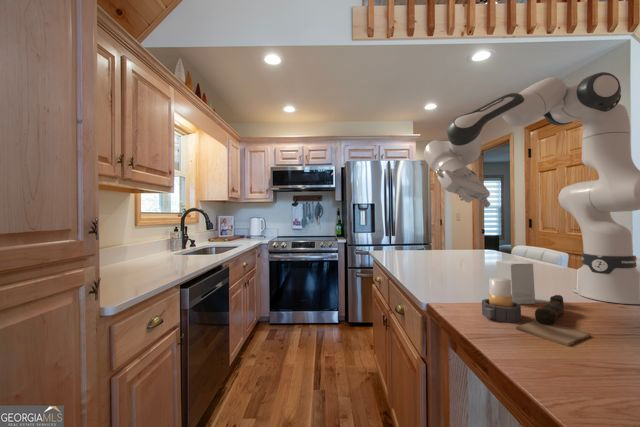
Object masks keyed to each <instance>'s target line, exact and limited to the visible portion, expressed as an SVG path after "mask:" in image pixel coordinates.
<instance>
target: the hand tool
mask: <svg viewBox="0 0 640 427" xmlns="http://www.w3.org/2000/svg"><path fill="white" fill-rule="evenodd" d="M564 307H565V306H564V297H563V296H562V295H560V294H558V295H557V294H554V295H552V296H550V299H549V301H548V302H547V303H546V304H544V306H542V307H541V308H540V307H537V308H536V309H535V311H534V316H535V317H534V320H537V321H538V322H539V323H541V324H546V325H553V324H556V320H557V318H559V316H560V315H563V314H564Z"/></svg>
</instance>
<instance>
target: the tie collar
mask: <svg viewBox="0 0 640 427" xmlns="http://www.w3.org/2000/svg"><path fill="white" fill-rule="evenodd" d="M521 308H522V307H521V304H518V303H516V302H513V307H498V306H493V305H489V298H484V299H482V300H481V311H482V312H481V313H482V314H481V315H482V316H484V317H485V318H487V319H490V320H493V321H498V322H503V323H504V322H505V323H517V322H520V321H522V309H521Z"/></svg>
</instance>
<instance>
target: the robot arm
mask: <svg viewBox="0 0 640 427" xmlns="http://www.w3.org/2000/svg"><path fill="white" fill-rule="evenodd" d="M621 92H622V86H621V83H620V80H619V78H618V77H616V76H615V75H614V74H612V73H610V72H606V71H605V72H602V71H601V72H598V73H594V74H592V75H589V76H587V77H585V78H583V79H582V80H581V81H579V82H577V83H575V84H573V85H571V86H567V85H566V82H565V81H564V80H563V79H562V78H558V77H554V76H551V77H546V78H544V79H542V80H539V81H537V82H535V83H533V84H532V85H529V86H528V87H527V88H524V90H522V91H520V92H511V93H507V94H504V95H502V96H500V97H498V98H496V99H494V100H492V101H490V102H488V103H486V104H484V105H482V106H480V107H479V108H476V109H475V110H473V111H471V112H468V113H464V114H461V115H459V116H458V117H456V118H454V119H453V120H452V121H450V123H449V124H448V125H447V128H446V134H447V137H448V138H447V139H448V140H447V141H443V140H442V141H440V140H437V139H436V140H435V139H434V140H432V141H430V142H429V143H428V144H427V145H426V146H425V148H424V150H423V158H424V160H425V163H426V164H427V165H428V167H429V168H430V170H432V171H433V172H434V173H435V174H436V177H437V180H438V182H439V183H440V185H441V186H442V188H443V189H444V190H445V191H447V192H449V193H452V194H456V195H457V196H459V197H460V198H461V199H463V201H464V202H465V203H468V204H469V203H471V202H472V201H473V200H476V201H479V202H480V205H481V206H483V208H488V207H490V206H491V202H490V201H489V200H488V198H489V197H490V196H491V193H490V191H489V189H488V188H487V187H486V186H485V184H484V183H483V182H482V181H481V180H480V179H479V178H478V177H479V176H478V174H477V173H476V172H474V171H473V170H471V169H470V168H468V165H470V164H473V163H475V162H476V161H478V159H479V158H480V156H481V154H482V133H483V130H484V128H485V127H486V126H487V125H488V124H490V123H492V122H494V121H495V120H498V119H499V118H501V117H502V119H503V120H504V121H505V122H506V124H509V125H511V126H514V127H526V126H527V125H531V124H532V123H534V122H535V121H537V120H539V119H541V118H542V117H544V118H545V120H546V121H547V122H548V123H549V124H551V125H554V126H557V127H558V126H565V125H568V124H569V125H570V124H571V123H574V122H576V121H578V120H579V122H580V123H581V125H582V135H581V136H582V138H581V162H582V164H583V165H585V167H587V168H591V169H594V170H595V171H596V172H597V174H598V179H594V180H586V181H579V182H576V183H573V184H570V185H567V186H564V187H563V188H562V189H561V190H560V192H559V194H558V202H559V203H558V204H559V205H560V207H561V208H563V209H564V210H565V211H566V212H568V213H569V214H570V215H571V216H572V217H573V218H574V219H575V221H576V222H577V223H578V224H577V225H578V226H579V228H580V232H581V237H582V249H583V252H582V253H581V263H582V266H581V267H579V268H577V272H576V273H577V274H576V276H577V278H576V287H574V288H572V289H571V291H572V293H575V294H578V295H579V296H582V297H584V298H587V299H591V300H597V301H601V302H605V303H606V302H607V303H615V304H623V305H640V272H639V270H638V269H637V265H638V264H637V258H638V257H637V255H634V253H633V252H634V251H633V235H632V233H631V231H630V229H629V228H627V227H626V226H624V225H623V224H619V223H617V222H616V221H615V220H614V219H613V217H612V215H611V213H617V212H618V213H620V212H622V213H623V212H635V211H640V170H639V169H638V167H637V166H636V164H635V163H634V160H633V159H632V158H633V157H632V151H631V150H632V148H631V147H632V146H631V122H630V116H629V113H628V109H627V108H626V106H624V105H623V104H621V103H619V102H620V101H621V98H622V95H621Z"/></svg>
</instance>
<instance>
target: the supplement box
mask: <svg viewBox="0 0 640 427" xmlns="http://www.w3.org/2000/svg"><path fill="white" fill-rule="evenodd" d="M495 263H496V264H495V265H496V266H495V268H496V278H504V279H509V280H511V295H512V301H513V302H516V303H518V304H520V305H532V304H533V305H535V304H536V293H535V292H536V291H535V274H534V263H532V262H526V261H522V260H513V259H512V260H497V261H496V262H495Z"/></svg>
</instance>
